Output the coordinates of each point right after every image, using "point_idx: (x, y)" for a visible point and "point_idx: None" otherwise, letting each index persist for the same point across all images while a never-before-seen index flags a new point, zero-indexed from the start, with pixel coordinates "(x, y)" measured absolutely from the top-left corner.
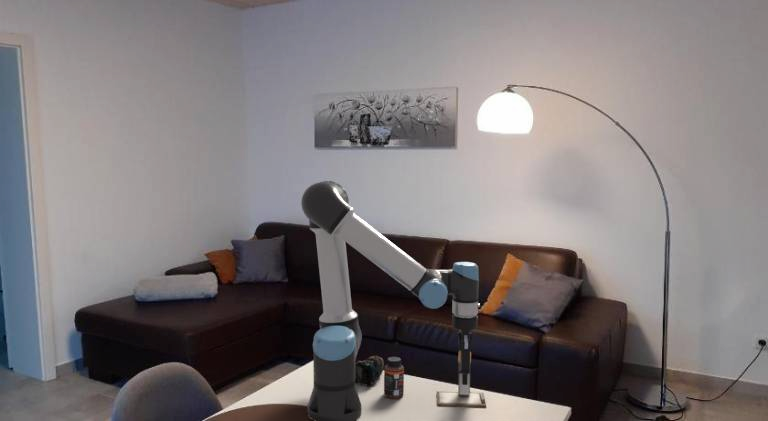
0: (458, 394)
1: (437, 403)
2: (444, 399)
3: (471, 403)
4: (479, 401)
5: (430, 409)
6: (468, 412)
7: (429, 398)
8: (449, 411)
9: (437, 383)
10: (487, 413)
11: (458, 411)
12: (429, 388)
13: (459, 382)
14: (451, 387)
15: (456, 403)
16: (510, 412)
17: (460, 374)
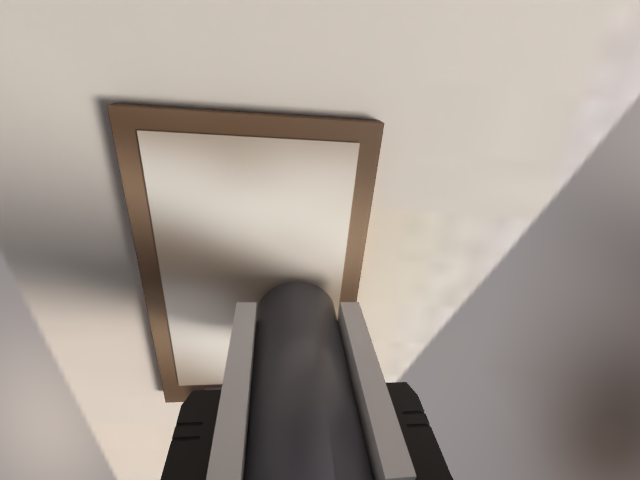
0: (290, 283)
1: (125, 106)
2: (208, 176)
3: (172, 341)
4: (212, 378)
5: (7, 21)
6: (63, 310)
7: (271, 39)
8: (31, 193)
9: (570, 145)
10: (87, 393)
11: (56, 254)
12: (492, 63)
13: (276, 362)
14: (473, 238)
15: (154, 256)
16: (135, 467)
17: (207, 473)
